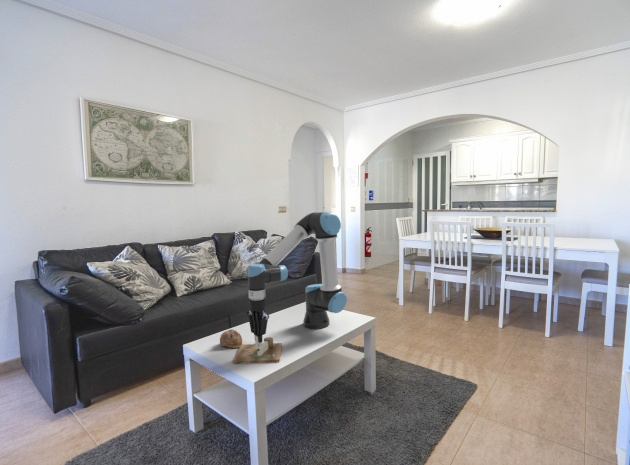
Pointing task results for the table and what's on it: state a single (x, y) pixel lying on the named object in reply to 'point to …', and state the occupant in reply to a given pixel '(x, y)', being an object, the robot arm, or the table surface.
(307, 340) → the table surface
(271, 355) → the dial board
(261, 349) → the lever
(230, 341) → the seashell
